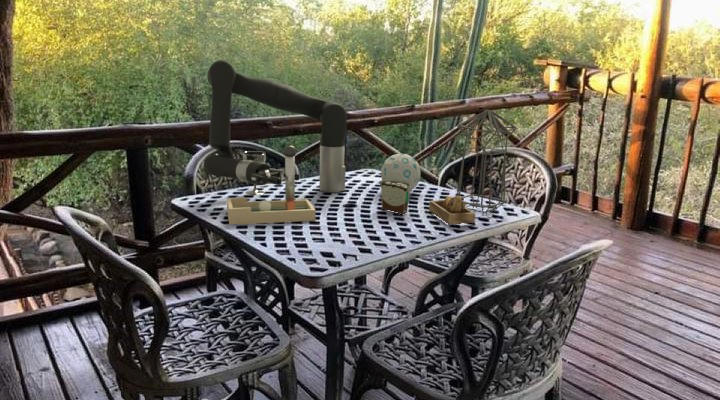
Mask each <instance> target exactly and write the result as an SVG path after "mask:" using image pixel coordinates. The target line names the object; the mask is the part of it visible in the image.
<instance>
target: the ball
mask: <svg viewBox="0 0 720 400" xmlns="http://www.w3.org/2000/svg"><path fill="white" fill-rule="evenodd" d="M269 201H270V200H268V199H267V200H266V199H263V200H261V202H260V203H259V210H260V211H270V210H271V203H270V202H269Z"/></svg>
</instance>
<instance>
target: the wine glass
mask: <svg viewBox="0 0 720 400" xmlns="http://www.w3.org/2000/svg"><path fill="white" fill-rule="evenodd" d="M242 154H243V160H252V161H257V162H262V163H266V158H267V157H266V152H265V151H262V150H248V151H243V153H242ZM244 193H245V194H246V195H249V196H260V195H265V191H264V190H259V189H257V184H253V189H252V190H247V191H245V192H244Z"/></svg>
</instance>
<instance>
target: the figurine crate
mask: <svg viewBox="0 0 720 400" xmlns="http://www.w3.org/2000/svg"><path fill="white" fill-rule="evenodd" d="M444 200H445V199H441V200H440V199H439V200H429V208H428V212H429V211H431V212H432V213H434V214H435V215H436V216H438V217H439V218H441V219H442V220H443V221H445V222H446V223H448V224H449V225H452V224H461V223H474V224H475V223H476V222H475V221H476V217H475V216H476V213H475V212H474V211H473V210H469V209H467V208H468V207H466V206H465V208H464V209H463V208H461V210H460V211H459V212H458V213H456V214H451V213H449V212H448V211H447V209H446V210H445V209H444Z"/></svg>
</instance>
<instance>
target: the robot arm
mask: <svg viewBox="0 0 720 400" xmlns="http://www.w3.org/2000/svg"><path fill="white" fill-rule="evenodd" d="M206 76H207V82H208V84H209V85H210V86H211V95H212V97H211V98H212V100H211V112H210V113H211V114H210V120H209V141H208V142H209V146H210V148H213V149H215V150H216V153H217V154H210V155H208V156H206V158H205V159H204V161H203V169H204V171H205V172H206V173H207V174H208V175H210V176H213V177H214V176H217V177H222V178H223V177H226V178H230V179H233V180H238V181H240V182H241V181H242V182H244V183H248V184H253V185H254V184H256V186H257V185H258V186H265V185H277V186H281V185H282V181H285V168H281V167H278V169H276V168H270V166H269V164H268V163H266V162H265V163H262V162H257V161H252V160H244V159H242V158H234V155H233V150H232V146H231V105H232V104H231V103H232V94H235V95H239V96H242V97H245V98H248V99H250V100H252V101H255V102H258V103H259V104H263V105H265V106H267V107H271V108H273V109H276V110H279V111H283V112H287V113H292V114H297V115H304V116H307V117H309V118H312V119H313V120H315V121H316V120H317V122H320V123H321V136H320V139H319V191H321V192H324V193H340V192H346V165H345V145H346V144H345V141H346V139H347V128H348V127H347V125H348V124H347V122H348V119H347V117H348V115H347V110H346V108H345V107H344V106H343V105H342V104H340V103H338V102H336V101H330V100H327V99H321V98H317V97H314V96H311V95H309V94H307V93H305V92H303V91H301V90H299V89H297V88H294V87H293V86H289V85H287V84H284V83H281V82H279V81H275V80H272V79H271V80H270V79H268V78H267V79H266V78H257V77H251V76H248V75H245V74H242V73H240V72H238V71H236V70H235V68H234V66H233V64H232V63H230V62H229V61H227V60H225V59H224V60H223V59H221V60H216V61H215V62H213V63H212V64H211V65H210V66H209V68H208V71H207V75H206ZM297 181H300V173H296V172H295V182H297Z"/></svg>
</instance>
